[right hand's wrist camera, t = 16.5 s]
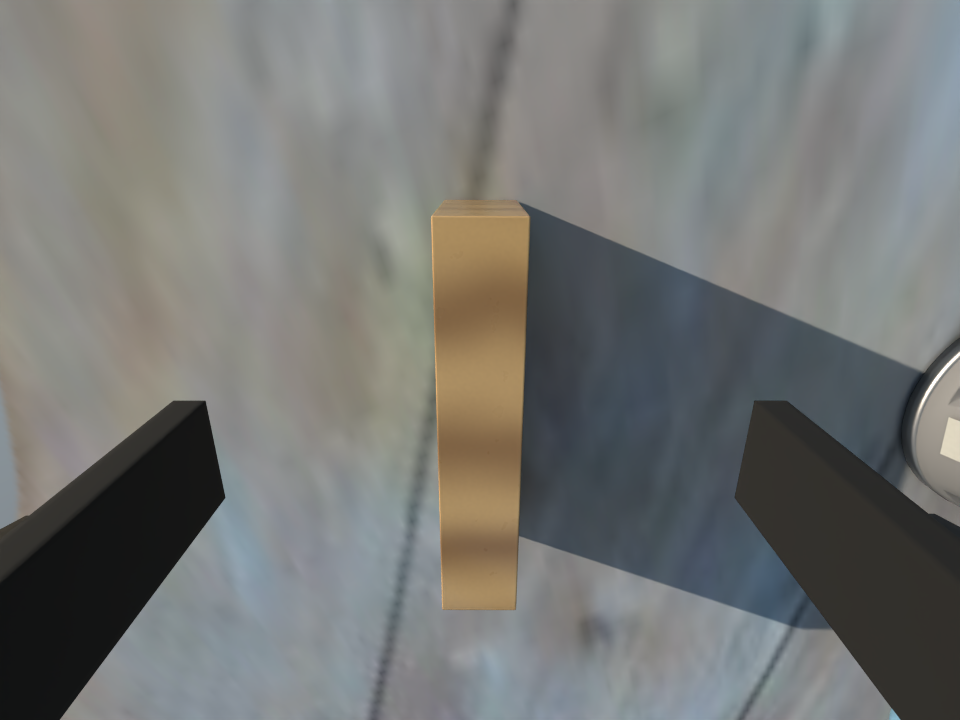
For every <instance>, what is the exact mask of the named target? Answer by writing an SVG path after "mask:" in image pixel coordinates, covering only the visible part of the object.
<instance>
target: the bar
mask: <svg viewBox="0 0 960 720" xmlns="http://www.w3.org/2000/svg"><path fill="white" fill-rule="evenodd" d="M431 227H432V262H433V297H434V332H435V368H436V403H437V438H438V473H439V508H440V544H441V579H442V609H443V610H516V596H517V568H518V541H519V514H520V487H521V460H522V433H523V406H524V379H525V351H526V324H527V297H528V270H529V243H530V216H529V215H528V214H527V212H526V211H525V210H524V209H523V207H522V206H521V205H520V204H519V203H518V201H516V200H444V202H443V203H442V204H441V205H440V207H439V208H438V209H437V210H436V211H435V213H434V214H433V215H432V217H431Z"/></svg>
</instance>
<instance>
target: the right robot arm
mask: <svg viewBox="0 0 960 720" xmlns="http://www.w3.org/2000/svg"><path fill="white" fill-rule="evenodd" d="M902 446H903V452H904V455H905V458H906V461H907V463H908V465H909V467H910V468H911V470H912V471H913V473H914V474H915V475H916V476H917V478H918V479H919V480H920V481H922V482H923V483H924V484H925V485H926V486H928V487H929V488H930V489H932V490H933V491H934V492H936V493H937V494H938V495H940V496H941V497H943V498H944V499H946V500H948V501H950V502H952V503H954V504H955V505H957V506H959V507H960V338H959V339H957V340H956V341H955V342H954V343H953V344H951V345H950V346H949V347H948V348H947V349H946V350H945V351H944V352H943V353H942V354H941V355H940V356H939V357H938V358H937V359H936V360H935V361H934V362H933V363H932V364H931V365H930V367H929V368H928V369H927V371H926V372H925V373H924V375H923V376H922V377H921V379H920V381H919V382H918V384H917V385H916V387H915V389H914V391H913V393H912V395H911V397H910V399H909V402H908V404H907V407H906V410H905V414H904V418H903V423H902ZM224 499H225V493H224V489H223V484H222V479H221V474H220V469H219V464H218V459H217V454H216V450H215V445H214V440H213V435H212V430H211V425H210V420H209V415H208V411H207V406H206V401H173V402H171V403H170V404H169V405H168V406H166V407H165V408H164V409H162V410H161V411H160V412H159V413H157V414H156V415H155V416H154V417H152V418H151V419H150V420H149V421H147V422H146V423H145V424H144V425H142V426H141V427H140V428H139V429H137V430H136V431H135V432H134V433H132V434H131V435H130V436H129V437H127V438H126V439H125V440H124V441H122V442H121V443H120V444H119V445H117V446H116V447H115V448H114V449H112V450H111V451H110V452H109V453H107V454H106V455H105V456H104V457H102V458H101V459H100V460H99V461H97V462H96V463H95V464H93V465H92V466H91V467H90V468H88V469H87V470H86V471H85V472H83V473H82V474H81V475H80V476H78V477H77V478H76V479H75V480H73V481H72V482H71V483H70V484H68V485H67V486H66V487H65V488H63V489H62V490H61V491H60V492H58V493H57V494H56V495H55V496H53V497H52V498H51V499H50V500H48V501H47V502H46V503H45V504H43V505H42V506H41V507H40V508H38V509H37V510H36V511H35V512H33V513H32V514H31V515H30V516H25V517H23V518H21V519H19V520H17V521H15V522H13V523H11V524H9V525H8V526H6V527H4V528H2V529H0V720H60V719H61V717H62V716H63V715H64V713H65V712H66V711H67V709H68V708H69V707H70V705H71V704H72V703H73V701H74V700H75V699H76V697H77V696H78V694H79V693H80V692H81V690H82V689H83V688H84V686H85V685H86V684H87V682H88V681H89V680H90V678H91V677H92V676H93V674H94V673H95V672H96V670H97V669H98V668H99V666H100V665H101V664H102V662H103V661H104V660H105V658H106V657H107V656H108V654H109V653H110V652H111V650H112V649H113V648H114V646H115V645H116V644H117V642H118V641H119V640H120V638H121V637H122V636H123V634H124V633H125V632H126V630H127V629H128V627H129V626H130V625H131V623H132V622H133V621H134V619H135V618H136V617H137V615H138V614H139V613H140V611H141V610H142V609H143V607H144V606H145V605H146V603H147V602H148V601H149V599H150V598H151V597H152V595H153V594H154V593H155V591H156V590H157V589H158V587H159V586H160V585H161V583H162V582H163V581H164V579H165V578H166V577H167V575H168V574H169V573H170V571H171V570H172V569H173V567H174V566H175V564H176V563H177V562H178V560H179V559H180V558H181V556H182V555H183V554H184V552H185V551H186V550H187V548H188V547H189V546H190V544H191V543H192V542H193V540H194V539H195V538H196V536H197V535H198V534H199V532H200V531H201V530H202V528H203V527H204V526H205V524H206V523H207V522H208V520H209V519H210V518H211V516H212V515H213V514H214V512H215V511H216V510H217V508H218V507H219V506H220V504H221V503H222V502H223V500H224ZM735 499H736V500H737V502H738V503H739V504H740V506H741V507H742V508H743V510H744V511H745V512H746V514H747V515H748V516H749V518H750V519H751V520H752V522H753V523H754V524H755V526H756V527H757V528H758V530H759V531H760V532H761V534H762V535H763V536H764V538H765V539H766V540H767V542H768V543H769V544H770V546H771V547H772V548H773V550H774V551H775V552H776V554H777V555H778V556H779V558H780V559H781V560H782V562H783V563H784V564H785V566H786V567H787V569H788V570H789V571H790V573H791V574H792V575H793V577H794V578H795V579H796V581H797V582H798V583H799V585H800V586H801V587H802V589H803V590H804V591H805V593H806V594H807V595H808V597H809V598H810V599H811V601H812V602H813V603H814V605H815V606H816V607H817V609H818V610H819V611H820V613H821V614H822V615H823V617H824V618H825V619H826V621H827V622H828V623H829V625H830V626H831V627H832V629H833V630H834V632H835V633H836V634H837V636H838V637H839V638H840V640H841V641H842V642H843V644H844V645H845V646H846V648H847V649H848V650H849V652H850V653H851V654H852V656H853V657H854V658H855V660H856V661H857V662H858V664H859V665H860V666H861V668H862V669H863V670H864V672H865V673H866V674H867V676H868V677H869V678H870V680H871V681H872V682H873V684H874V685H875V686H876V688H877V689H878V690H879V692H880V693H881V694H882V696H883V697H884V699H885V700H886V701H887V703H888V704H889V705H890V707H891V712H890V717H889V720H960V527H959V526H957V525H955V524H953V523H951V522H949V521H947V520H945V519H943V518H942V517H940V516H938V515H936V514H928V513H927V512H925V511H924V510H923V509H922V508H920V507H919V506H918V505H917V504H915V503H914V502H913V501H912V500H910V499H909V498H908V497H907V496H905V495H904V494H903V493H902V492H900V491H899V490H898V489H897V488H895V487H894V486H893V485H892V484H890V483H889V482H888V481H887V480H885V479H884V478H883V477H882V476H880V475H879V474H878V473H877V472H875V471H874V470H873V469H872V468H870V467H869V466H868V465H867V464H865V463H864V462H863V461H861V460H860V459H859V458H858V457H856V456H855V455H854V454H853V453H851V452H850V451H849V450H848V449H846V448H845V447H844V446H843V445H841V444H840V443H839V442H838V441H836V440H835V439H834V438H833V437H831V436H830V435H829V434H828V433H826V432H825V431H824V430H823V429H821V428H820V427H819V426H818V425H816V424H815V423H814V422H813V421H811V420H810V419H809V418H808V417H806V416H805V415H804V414H803V413H801V412H800V411H799V410H798V409H796V408H795V407H794V406H792V405H791V404H790V403H789V402H787V401H754V406H753V411H752V415H751V420H750V425H749V430H748V435H747V440H746V445H745V450H744V454H743V459H742V464H741V469H740V474H739V479H738V484H737V489H736V493H735Z"/></svg>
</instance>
